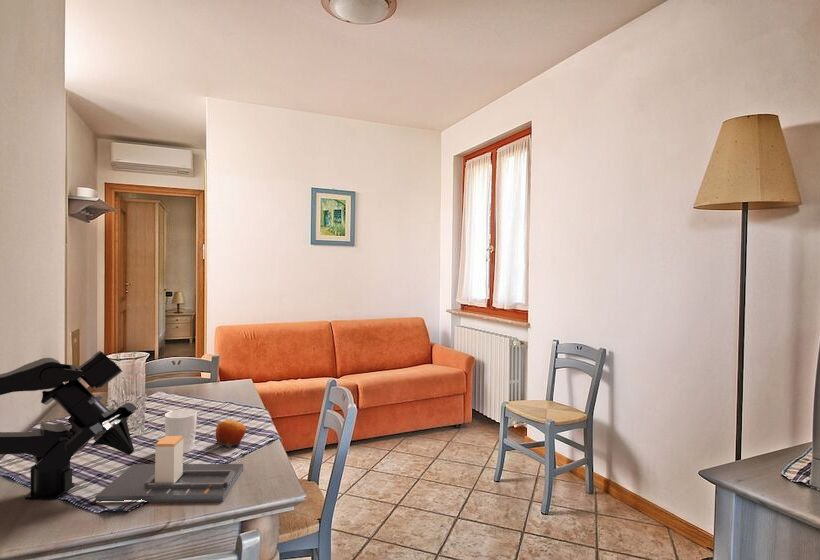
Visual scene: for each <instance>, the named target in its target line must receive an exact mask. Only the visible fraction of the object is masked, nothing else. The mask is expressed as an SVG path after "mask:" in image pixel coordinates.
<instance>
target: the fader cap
mask: <svg viewBox="0 0 820 560" xmlns="http://www.w3.org/2000/svg"><path fill="white" fill-rule="evenodd" d="M154 451H155V452H154V453H155V455H154V458H155V461H154V464H155V483H175V482H176V481H177V480H178V479H179V478H180V477H181V476H182V475H183V464H184V454H183V436H164V437H162V438H161V439H160V440H159V441H158V442H156V443H155V450H154Z"/></svg>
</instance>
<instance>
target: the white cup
mask: <svg viewBox="0 0 820 560" xmlns="http://www.w3.org/2000/svg"><path fill="white" fill-rule="evenodd" d="M197 416H198V412H197V410H195V409H192V408H181V409H174V410H170V411H168V412H166V413H164V434H165V436H183V455H184V454H186V453H187V454H188V453H190V452H192V451H193V450H194V449H195V440H196V431H197V418H198V417H197ZM165 436H164V437H165Z"/></svg>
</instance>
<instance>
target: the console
mask: <svg viewBox="0 0 820 560" xmlns="http://www.w3.org/2000/svg"><path fill="white" fill-rule="evenodd" d="M243 471H244V463H183V475H182V476H181V477H180V478H179V479H178V480H177V481H176V482H175V483H155V463H152V464H151V463H150V464H149V463H148V464H146V463H145V464H143V463H138V464H136V463H135V464H134V463H133V464H132V465H131V466H130V467H128V468H127V469H126V470H125V471H124V472H122V473H121V474H120V475H119V476H118V477H116V478H115V479H114V480H113V481H112V482H111V483H109V484H107V486H105V488H103V489H102V490H101V491H100V492H98V493H97V494H96V495H95V496H94V499H95V500H94V502H95V501H124V500H141V499H142V500H145V501H147V502H153V504H154V503H157V502H158V504H159V503H219V502H220V503H224V501H225V500H226V499H227V496H228V495H229V493H230V492H231V490H232V488H233V486H234V485H235V483H236V482H237V480H238V478H239V477H240V476H241V474H242V473H243Z"/></svg>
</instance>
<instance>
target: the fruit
mask: <svg viewBox="0 0 820 560" xmlns="http://www.w3.org/2000/svg"><path fill="white" fill-rule="evenodd" d="M246 431H247V426H246V425H244V424H243V423H242V422H239V421H236V420H232V419H225V420H224V421H223V420H222V421H220V422H219V423H218V424H217V426H216V429H215V439H216V443H217V447H221V446H226V447H228V449H229V450H231V447H232V446H236V445H238V444H239V443H241V441H242V439H243V437H244V436H245V434H246Z"/></svg>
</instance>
